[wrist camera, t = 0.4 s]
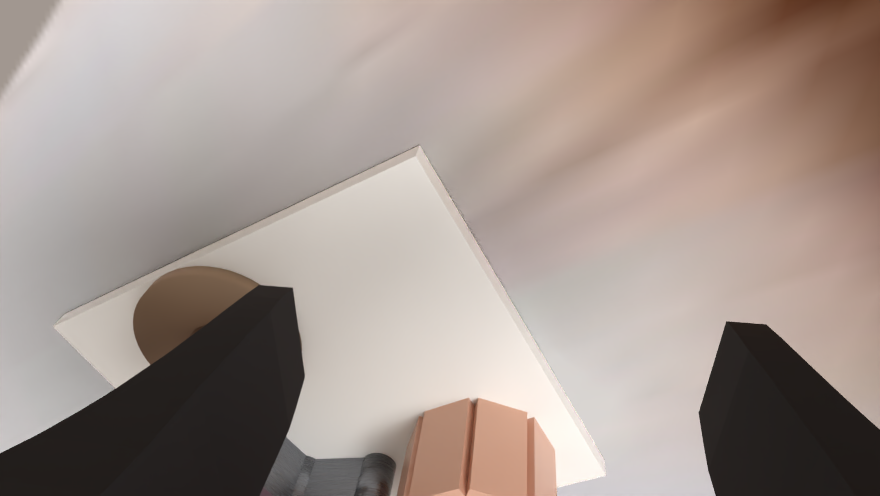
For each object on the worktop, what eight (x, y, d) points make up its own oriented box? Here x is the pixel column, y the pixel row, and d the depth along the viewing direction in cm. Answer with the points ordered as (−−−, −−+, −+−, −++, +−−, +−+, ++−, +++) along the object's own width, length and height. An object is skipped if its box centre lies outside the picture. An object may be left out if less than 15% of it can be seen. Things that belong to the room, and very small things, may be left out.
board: (604, 459, 26) (606, 475, 25) (288, 539, 32) (282, 554, 31) (419, 145, 20) (415, 155, 19) (65, 313, 25) (52, 326, 25)
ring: (573, 479, 26) (579, 575, 22) (451, 509, 28) (440, 602, 24) (513, 383, 23) (510, 475, 20) (384, 423, 25) (362, 513, 22)
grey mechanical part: (402, 471, 27) (390, 532, 24) (308, 497, 28) (288, 557, 26) (323, 373, 24) (301, 430, 22) (226, 408, 26) (195, 465, 24)
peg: (333, 367, 24) (290, 482, 20) (211, 411, 26) (149, 523, 22) (234, 241, 22) (160, 341, 17) (107, 300, 24) (13, 403, 19)
